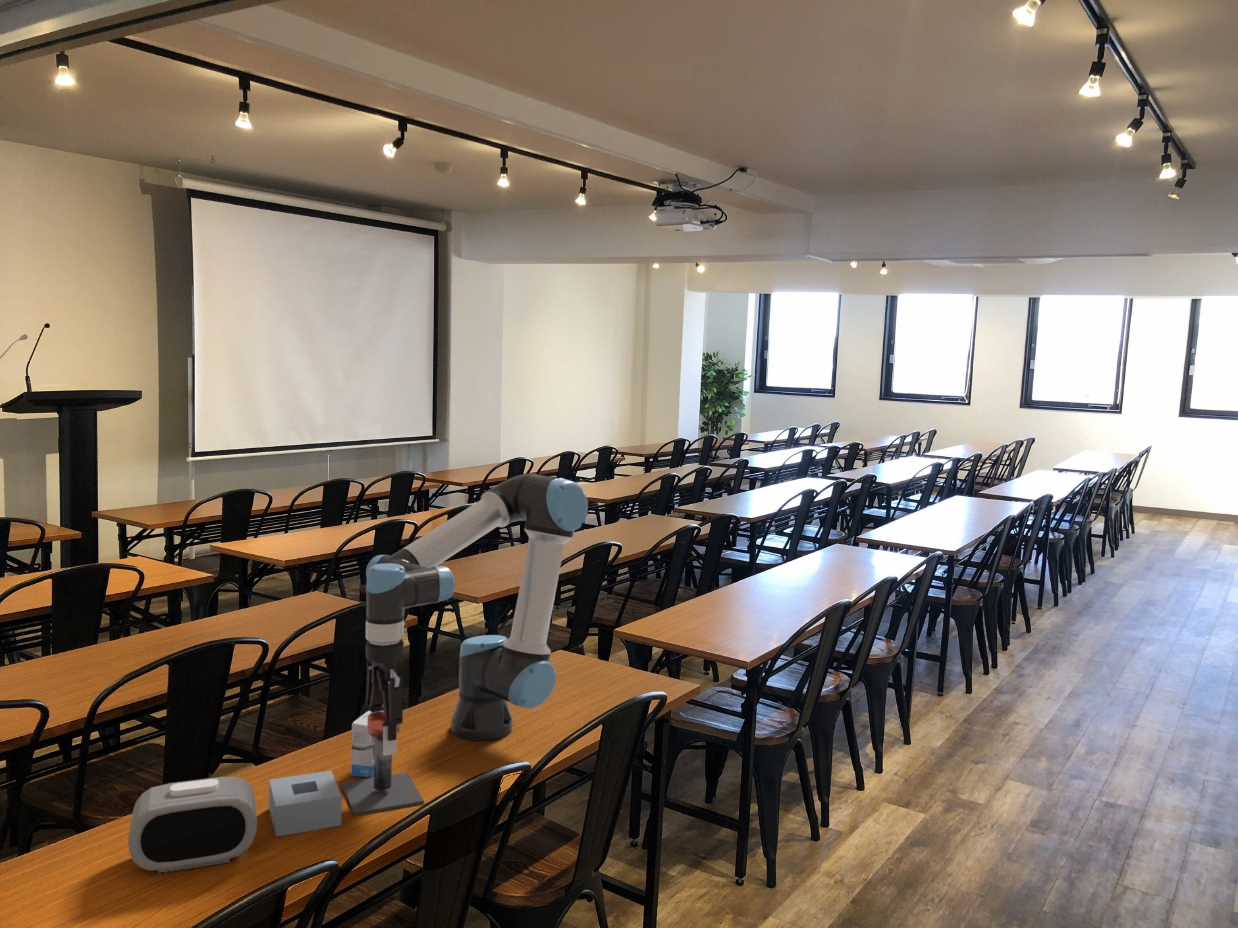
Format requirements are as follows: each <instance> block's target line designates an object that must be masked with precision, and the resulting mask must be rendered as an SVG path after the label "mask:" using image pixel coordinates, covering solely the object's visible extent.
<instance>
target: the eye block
mask: <svg viewBox="0 0 1238 928" xmlns="http://www.w3.org/2000/svg"><path fill="white" fill-rule="evenodd" d="M333 773H334V772H333V771H332V770H326V771H318V772H312V773H305V774H298V775H292V776H284V777H279V778H278V777H277V778H272V779H269V781H268V782H269V783H268V785H269V786H268V789H269V790H268V794H269V795H268V800H269V801H268V808H269V812H270V813H269V814H270V817H271V822H272V827H273V829H274V835H275V837H276V838H278V837H283V836H288V835H294V834H300V833H305V832H311V831H316V830H323V829H328V828H334V827H338V826H339V827H340V826H342V808H343V807H342V805H343V804H342V803H343V802H342V801H343V800H342V793H341V791H340V789H339V788H340V787H339V786H338V783H337V781H336V779H335V775H334V774H333Z"/></svg>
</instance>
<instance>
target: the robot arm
mask: <svg viewBox="0 0 1238 928" xmlns="http://www.w3.org/2000/svg"><path fill="white" fill-rule="evenodd" d="M588 510H589V503H588V497H587V495H586V493H585V492H584V490H583V487H581V485H580V484H578V483H577V482H575V481H573V480H569V479H565V478H563V477H559V478H558V477H554V476H553V477H552V476H548V475H542V474H541V475H540V474H538V473H537V474H536V473H523V474H520V475H516V476H513V477H511V478H509V479H507V480H504V481H502V482H500V483H499V484H497V485H495V486H493V487H492V488H490V489H488V490H487V491H485V492H484V493H482V495H481V497H480V500H478V501H477V502H475V503H474V504H472V505H470V506H469V507H467V508H466V509H464V510H462V511H461V512H459V513H457V514H456V515H454V516H453V517H451V518H449V519H448V520H447V521H445V522H443V523H441V524H440V525H438V526H436V527H435V528H433V529H432V530H430V531H428V533H426V534H424V535H422V536H421V537H419V538H417V539H416V540H414V541H413V542H411V543H410V544H407V546H405V547H403V548H401V549H399V550H397V552H395V553H393V554H391V555H389V554H379V555H376V556H374V557H373V558H371V560H370V561H369V562H368V564H367V566H366V570H365V576H366V585H365V592H366V594H365V595H366V599H365V600H366V606H365V607H366V611H365V614H366V615H365V616H366V620H365V639H366V640H367V641H366V642H365V659H366V687H365V688H366V690H365V705H366V706H367V707H368V711H371V713H370V714H373V713H376V712H382V711H384V713H385V723H382V726H383V755H384V756H387V755H391V754H392V755H395V754H397V753H398V733H397V724H399V725H400V724H403V721H404V719H403V709H404V707H403V683H404V676H403V675H399V676H398V669H397V663H398V661H401V660H402V659H403V657H404V649H405V647H404V645H405V644H404V643H405V642H404V640H403V638H404V633H405V632H404V631H405V630H404V628H405V627H404V626H406V622H405V609H409V608H413V607H419V606H424V605H425V606H426V605H430V604H431V605H432V604H437V603H439V602H444V601H447V600H449V599H450V598H452V597H453V595H454V593H455V590H456V585H455V584H456V580H455V576H454V574H453V572H452V571H451V569H450V568H448V567H447V566H444V565H440V564H442V563H443V562H445V561H447V560H448V559H450V558H451V557H453V556H454V555H455V554H457V553H459V552H460V551H462V550H463V549H465V548H466V547H469V545H472V544H473V543H474V542H476V541H477V540H479V539H480V538H482V537H483V536H485V535H487V534H488V533H490V532H491V531H493V530H494V529H496V528H497V527H498V528H504V527H506V526H508V525H510V524H511V523H514V522H517V521H519V522H520V521H524V523H525V524H524V529H523V530H524V532H525V533H526V534H527V536H528V542H527V546H526V547H527V548H526V554H525V559H524V563H523V567H522V568H523V569H522V575H521V579H520V583H519V584H520V585H519V590H518V595H517V601H516V605H515V610H514V611H515V612H514V615H513V621H512V625H511V627H512V628H511V632H510V637H508V638H507V637H506V636H504V635H500V634H499V635H498V634H488V635H486V634H485V635H477V636H472V637H470V638H469V637H468V638H467V639H464V640H463V641H462V643H461V644H460V651H459V656H458V658H459V659H458V661H459V664H458V665H459V666H458V667H459V669H458V670H459V672H458V674H459V675H458V700H457V702H456V705H455V708H454V710H453V714H452V717H451V720H450V731H451V733H452V734H453V735H455V736H456V737H459V738H461V739H465V740H471V741H491V740H496V739H500V738H503V737H505V736H508V735H509V734H510V733H511V732H512V731H513V717H512V713H511V710H510V706H509V703H510V704H511V705H513V706H516V707H521V708H525V709H534V708H536V707H539V706H541V705H542V704H544V702H545V701H546V700H547V699H548V698H549V697H550V695H551V694H552V693H553V690H554V688H555V686H556V682H557V671H556V670H555V667H554V665H553V664H552V663H551V662H550V658H551V654H552V650H551V649H550V648H549V646H548V645H547V640H548V633H549V630H550V624H551V618H552V614H553V613H552V612H553V609H554V602H555V597H556V592H557V587H558V582H559V576H560V572H561V571H560V570H561V565H562V561H563V560H562V559H563V555H564V550H565V544H567V543H568V542H569V541H571V540H572V539H573V536H574V531H577V530H578V529H580V528H581V527H582V524H584V523H585V521H586V520H587V516H588V512H589V511H588ZM439 565H440V566H439ZM370 743H371V744H372V743H374V737H373V736H370Z"/></svg>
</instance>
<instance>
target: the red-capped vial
mask: <svg viewBox="0 0 1238 928" xmlns="http://www.w3.org/2000/svg"><path fill="white" fill-rule="evenodd" d="M382 723H385V713H384V710H383V711H382V712H376V713H373V714H369V716H368V721H367V733H368V734H369V735H370V736H373V737H374V775H373V778H374V789H376V790H387V789H389V788H390V787H391V775H393V774H392V767H393V766H392V765H393V762H392V761H393V760H392V759H393V758H392V757H393V754H391V755H387V756H384V755H383V726H382ZM399 732H400V724H397V734H398V733H399Z"/></svg>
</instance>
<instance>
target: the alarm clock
mask: <svg viewBox="0 0 1238 928" xmlns="http://www.w3.org/2000/svg"><path fill="white" fill-rule="evenodd" d="M257 819H258V818H257V808H256V798H255V792H254V789H253V787H252V785H251V784H250V783H249V782H248V781H247V780H245V779H244V778H241V777H239V776H218V777H217V776H216V777H208V778H202V779H194V780H186V781H177V782H169V783H165V784H161V785H157V786H153V787H152V786H151V787H150V788H149V789H147V790H145V791H144V792H143V793H141V795H140V796H139V797H138V799H137V800H136V801H135V804H134V807H133V810H132V814H131V819H130V820H131V821H130V825H129V833H128V839H127V840H128V842H127V845H128V852H129V855H130V857H131V860H132V861H133V862H134V863H135V864H136V865H137V866H138V868H141V869H144V870H146V871H150V872H151V871H157V873H158V874H162V873H161V872H164V873H167V872H166V871H171V872H175V871H174V870H177V871H181V870H180V869H183V870H188V869H194V868H201V867H206V866H207V867H208V866H212V865H213V866H214V865H218V864H225V863H230V861H231V859H234V858H238V857H239V856H241V855H243V854H244V853H245V852H246V851H248V849H249V848H250V846H252V844H253V842H254V840H255V837H256V834H257V828H258V821H257ZM193 867H194V868H193Z"/></svg>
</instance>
